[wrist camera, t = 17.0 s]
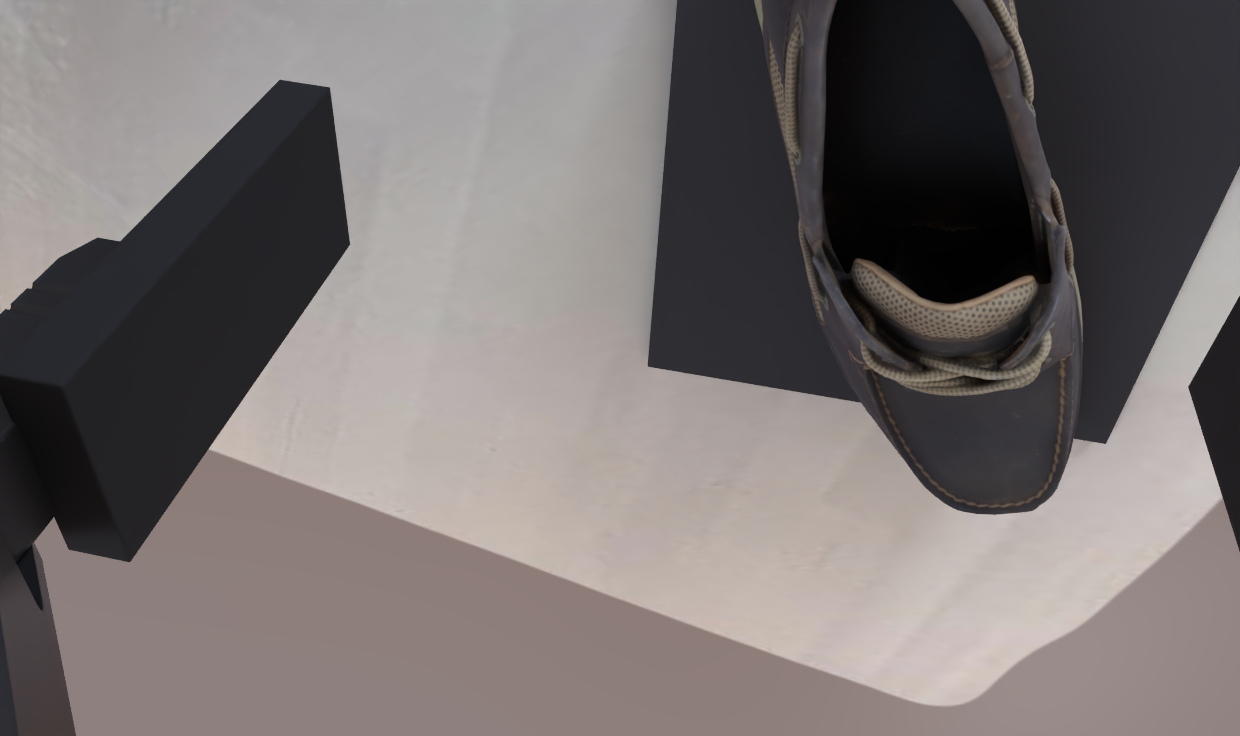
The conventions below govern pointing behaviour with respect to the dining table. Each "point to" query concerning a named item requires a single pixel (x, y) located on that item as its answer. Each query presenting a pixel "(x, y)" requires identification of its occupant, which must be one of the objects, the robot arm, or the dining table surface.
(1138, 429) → the dining table surface
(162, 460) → the robot arm
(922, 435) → the boat shoe
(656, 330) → the boot mat
